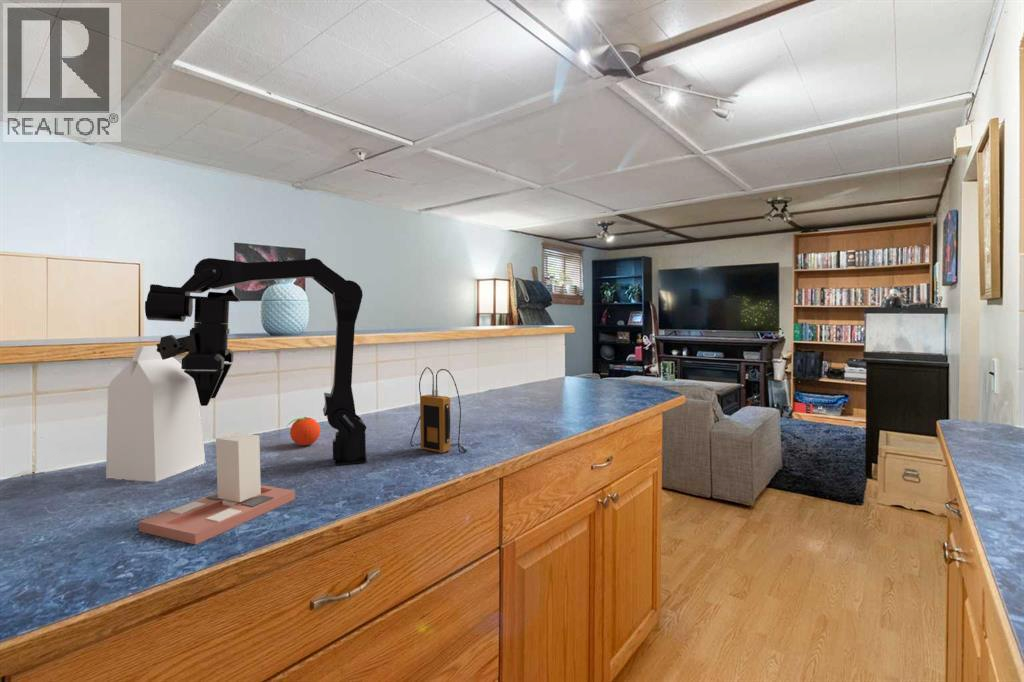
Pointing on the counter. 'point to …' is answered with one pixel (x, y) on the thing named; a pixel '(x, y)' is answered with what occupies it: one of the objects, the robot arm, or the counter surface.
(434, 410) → the multimeter
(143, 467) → the milk
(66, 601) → the counter surface
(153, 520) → the switch block
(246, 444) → the switch tab
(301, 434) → the clementine
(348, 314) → the robot arm
